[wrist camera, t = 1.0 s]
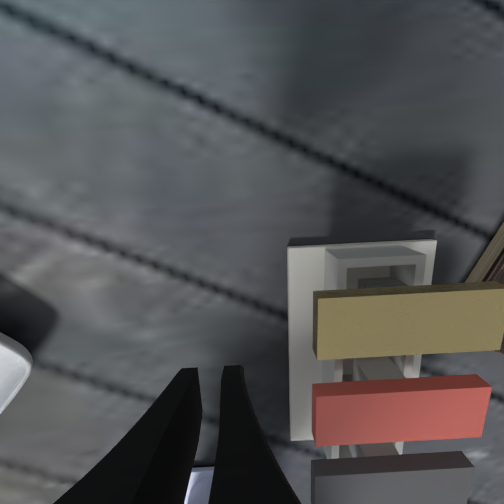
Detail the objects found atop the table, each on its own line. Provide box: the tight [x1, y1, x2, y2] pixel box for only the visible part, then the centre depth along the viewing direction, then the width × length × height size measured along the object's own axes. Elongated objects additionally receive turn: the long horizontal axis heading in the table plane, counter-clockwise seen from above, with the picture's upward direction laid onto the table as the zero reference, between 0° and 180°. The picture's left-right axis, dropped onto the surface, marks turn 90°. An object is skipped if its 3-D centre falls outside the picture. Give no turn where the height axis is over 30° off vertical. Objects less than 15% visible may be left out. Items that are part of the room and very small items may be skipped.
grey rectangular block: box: [311, 442, 474, 504], centre depth 18 cm, size 4×10×4 cm, turn 93°
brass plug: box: [312, 277, 504, 360], centre depth 15 cm, size 4×10×4 cm, turn 93°
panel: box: [287, 239, 437, 459], centre depth 20 cm, size 18×11×3 cm, turn 3°
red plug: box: [312, 356, 492, 447], centre depth 17 cm, size 4×10×4 cm, turn 93°
